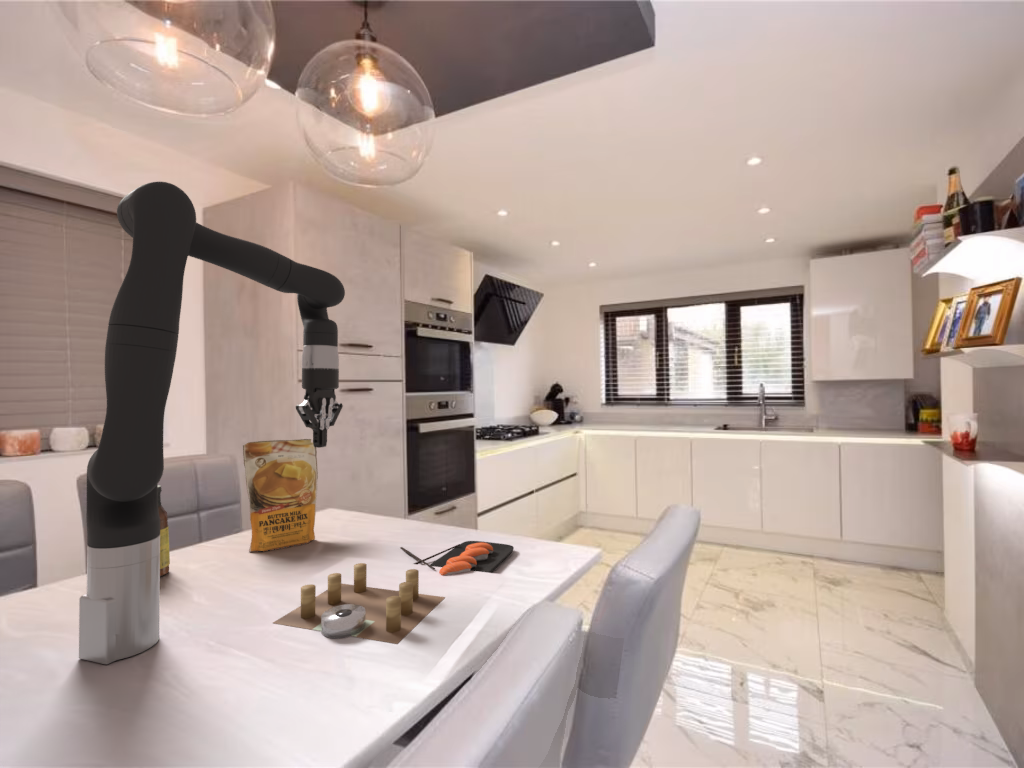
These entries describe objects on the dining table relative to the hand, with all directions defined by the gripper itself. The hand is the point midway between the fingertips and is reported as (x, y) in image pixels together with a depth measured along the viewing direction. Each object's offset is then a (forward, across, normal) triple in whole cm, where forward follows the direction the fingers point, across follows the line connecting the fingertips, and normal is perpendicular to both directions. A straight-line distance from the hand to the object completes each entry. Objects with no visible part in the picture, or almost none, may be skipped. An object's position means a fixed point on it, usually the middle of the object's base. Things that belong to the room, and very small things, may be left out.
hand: (320, 446), depth 106 cm
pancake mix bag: (+29, +18, +26) cm, 43 cm away
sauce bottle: (+29, -8, +38) cm, 49 cm away
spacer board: (+29, -12, -19) cm, 37 cm away
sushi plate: (+30, +18, -20) cm, 40 cm away
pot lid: (+28, -19, -20) cm, 39 cm away
